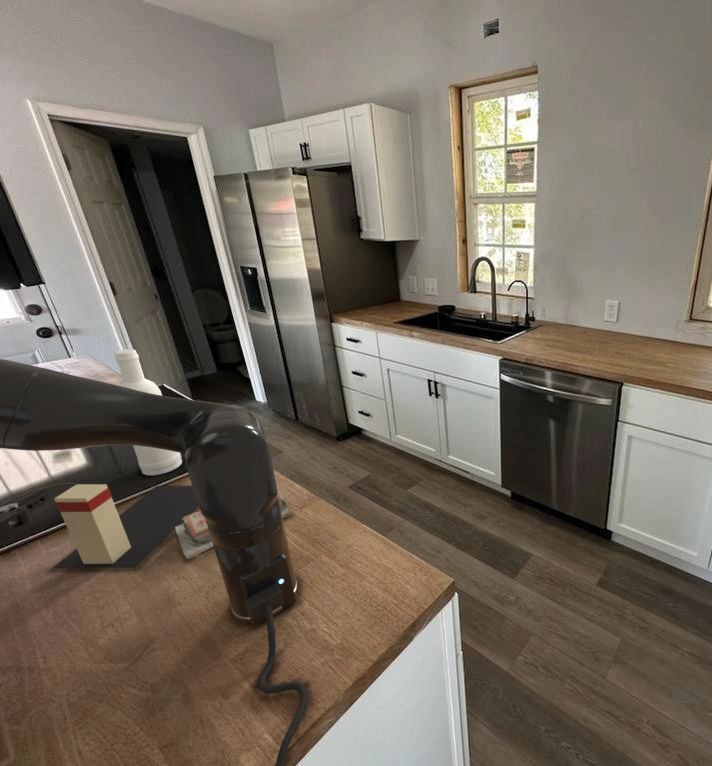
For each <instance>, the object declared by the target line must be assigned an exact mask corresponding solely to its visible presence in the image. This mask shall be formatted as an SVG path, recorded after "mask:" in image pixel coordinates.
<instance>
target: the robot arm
mask: <svg viewBox="0 0 712 766" xmlns="http://www.w3.org/2000/svg"><path fill="white" fill-rule="evenodd" d="M133 445H135V446H145V447H152V448H158V449H164V450H169V451H174V452H179V453H180V454H184V459H185V465H186V470H187V475H188V478H189V481H190V483H191V486H192V487H193V490H194V493H195V496H196V499H197V502H198V505H199V507H198V508H199V511H201V513H202V515H203V516H204V518H205V520H206V523H207V526H208V529H209V532H210V536H211V539H212V543H213V546H214V547H213V548H214V553H215V555H216V559H217V563H218V566H219V570H220V573H221V576H222V580H223V583H224V587H225V590H226V593H227V596H228V600H229V603H230V609H231V612H232V616H234V618H235V619H236V620H238V621H241V622H244V623H252V625H253V626H254V627H256V626H258V625H260V624H262V623H263V622H265V621H266V627H267V639H268V640H267V641H268V643H267V644H268V654H267V660H266V663H265V666H264V669H263V670H262V672H261V673H260V675H259V677H258V680H257V687H258V690H259V691H260V692H262V693H265V694H276V693H281V692H286V691H296V692H297V693H298V695H299V699H300V700H299V706H298V709H297V710H296V713H295V716H294V717H293V719H292V721H291V723H290V725H289V727H288V728H287V731H286V733H285V735H284V737H283V739H282V741H281V744H280V746H279V750H278V754H277V757H276V763H275V766H285V765H286V758H287V753H288V750H289V747H290V745H291V743H292V739H293V738H294V735H295V733H296V731H297V729H298V727H299V725H300V723H301V721H302V719H303V717H304V714H305V712H306V710H307V706H308V703H309V702H308V701H309V696H308V690H307V688H306V685H304V684H303V683H302V682H299V681H288V682H284V683H279V684H278V683H277V684H272V685H271V684H267V682H266V680H267V678H268V676H269V674H270V672H271V670H272V669H273V667H274V664H275V660H276V652H277V641H276V627H275V620H274V616H276V615H278V614H279V613H280V612H282V611H284V610H285V609H287V608H289V607H291V606H292V605H294V604H295V603H296V602H297V599H296V595H297V593H298V587H299V586H298V584H299V583H298V580H297V577H296V575H295V569H294V565H293V561H292V556H291V551H290V546H289V542H288V538H287V533H286V527H285V524H284V518H282V513H281V508H280V504H279V499H278V492H279V490H278V485H277V480H276V476H275V471H274V465H273V462H272V456H271V451H270V446H269V444H268V441H267V438H266V435H265V431H264V429H263V426H262V424H261V422H260V420H259V419H258V417H256V415H254V414H253V413H252V412H250V411H249V410H247V409H246V408H243V407H240V406H237V405H232V404H226V403H220V402H219V403H218V402H212V401H204V400H195V399H189V398H182V397H181V398H180V397H173V396H166V395H162V396H161V395H156V394H151V393H146V392H142V391H138V390H134V389H130V388H126V387H122V386H121V385H117V384H113V383H109V382H105V381H101V380H95V379H91V378H86V377H82V376H78V375H74V374H70V373H65V372H61V371H58V370H54V369H50V368H45V367H41V366H37V365H32V364H27V363H22V362H19V361H14V360H11V359H10V360H9V359H4V358H0V449H5V450H15V451H16V450H17V451H28V452H29V451H31V452H33V451H34V452H35V451H36V452H39V451H41V452H42V451H43V452H44V451H63V450H76V449H87V448H96V447H97V448H99V447H108V446H133ZM277 490H278V491H277ZM49 501H50V495H49V493H48V491H47V489H46V488H36V489H34V490H32V491H30V492H29V493H27V494H25V495H24V496H21V497H20V498H18V499H16V500H14V501H13V502H11V503H10V504H6V505H3V506H1V507H0V515H1V516H0V543H1V542H3V541H4V540H6V539H8V538H9V537H12V536H13V535H14V534H16V533H18V532H19V531H21V530H23V529H24V528H26V527H28V526H30V525H32V524H33V519H32V517H31V516H30V513H31V512H33V511H36V509H39V508H40V507H42V506H43V505H45V504H46V503H48V502H49Z"/></svg>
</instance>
